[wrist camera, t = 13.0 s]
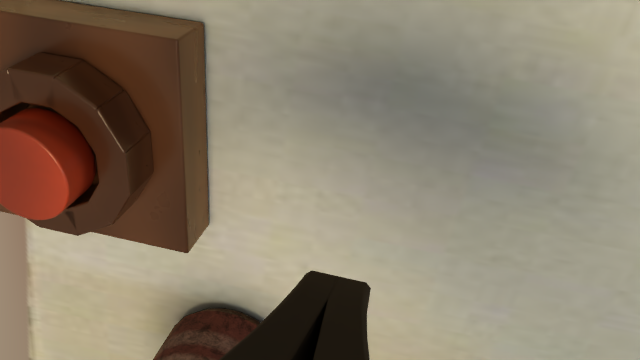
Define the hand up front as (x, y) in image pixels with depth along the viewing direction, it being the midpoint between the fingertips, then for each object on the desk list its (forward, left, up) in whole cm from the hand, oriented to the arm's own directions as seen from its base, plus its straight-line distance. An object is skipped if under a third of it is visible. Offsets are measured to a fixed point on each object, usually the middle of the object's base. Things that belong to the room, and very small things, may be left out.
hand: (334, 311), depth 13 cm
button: (+12, +2, -7) cm, 14 cm away
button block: (+12, +2, -10) cm, 16 cm away
